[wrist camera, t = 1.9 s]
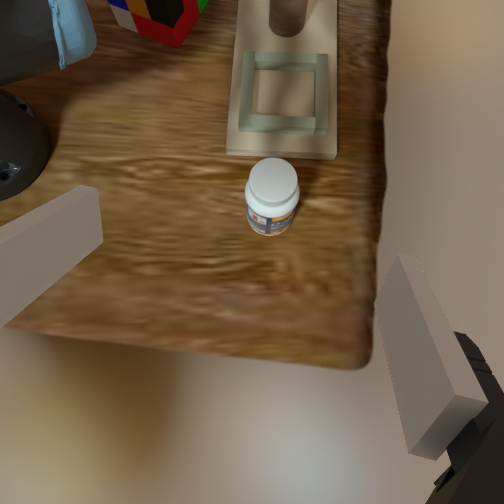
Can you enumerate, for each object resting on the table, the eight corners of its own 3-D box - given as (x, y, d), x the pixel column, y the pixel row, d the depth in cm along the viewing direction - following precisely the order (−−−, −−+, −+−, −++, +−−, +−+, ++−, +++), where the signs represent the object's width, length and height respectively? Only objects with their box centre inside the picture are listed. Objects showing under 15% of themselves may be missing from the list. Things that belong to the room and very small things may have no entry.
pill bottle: (277, 245, 39) (284, 218, 30) (238, 222, 40) (231, 188, 31) (300, 207, 40) (314, 170, 31) (261, 186, 41) (263, 142, 32)
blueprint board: (226, 154, 42) (215, 92, 31) (240, -3, 48) (235, -103, 37) (334, 159, 42) (362, 98, 31) (334, 0, 48) (358, -100, 37)
